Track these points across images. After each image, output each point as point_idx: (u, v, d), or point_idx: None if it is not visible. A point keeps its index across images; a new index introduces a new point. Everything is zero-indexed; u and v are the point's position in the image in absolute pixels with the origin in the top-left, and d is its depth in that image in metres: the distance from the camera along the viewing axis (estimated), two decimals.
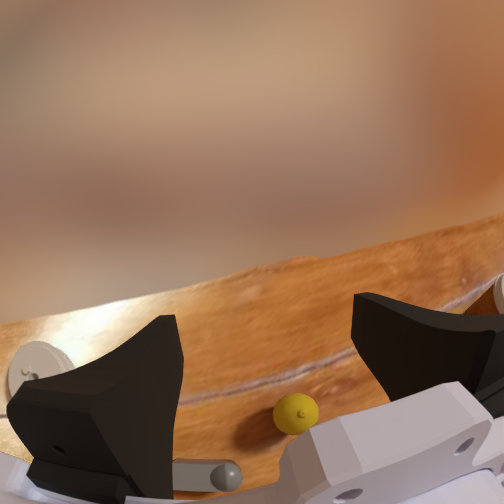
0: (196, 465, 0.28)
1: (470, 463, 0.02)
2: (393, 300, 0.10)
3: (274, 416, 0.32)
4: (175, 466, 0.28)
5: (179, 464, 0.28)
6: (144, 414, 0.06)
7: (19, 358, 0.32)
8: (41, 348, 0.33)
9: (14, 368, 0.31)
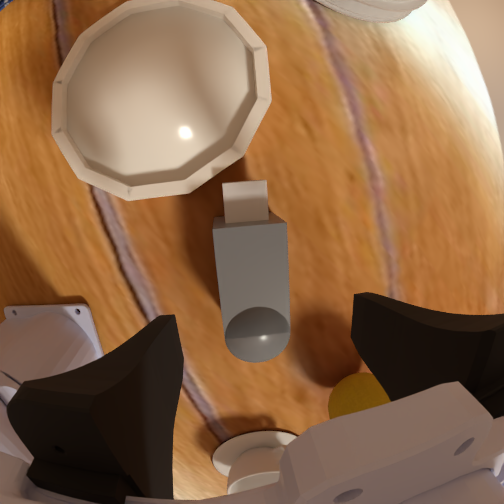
0: (285, 278, 0.16)
1: (470, 463, 0.02)
2: (393, 300, 0.10)
3: (370, 389, 0.19)
4: (278, 232, 0.16)
5: (284, 241, 0.16)
6: (144, 414, 0.06)
7: None
8: None
9: None
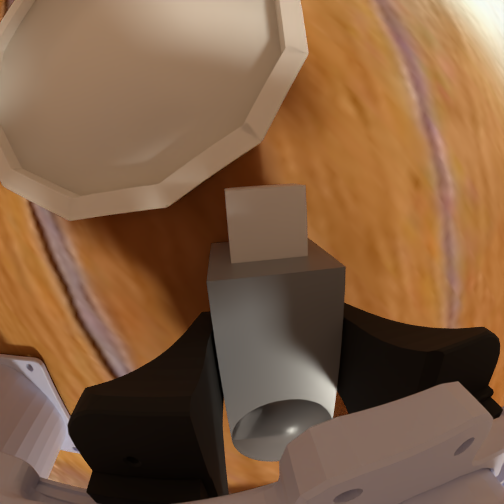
0: (334, 356, 0.09)
1: (470, 463, 0.02)
2: (352, 308, 0.09)
3: None
4: (329, 284, 0.08)
5: (339, 299, 0.08)
6: (211, 413, 0.06)
7: None
8: None
9: None
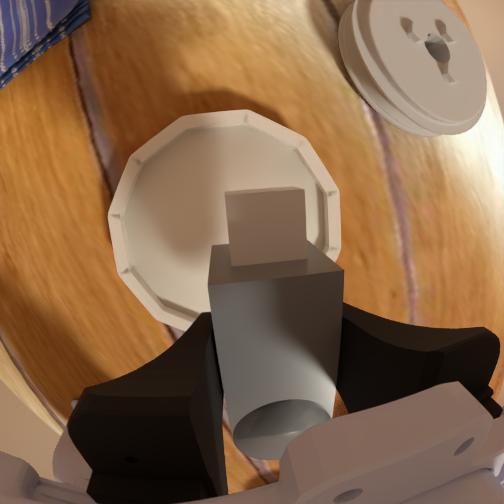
0: (333, 358, 0.09)
1: (470, 463, 0.02)
2: (352, 307, 0.09)
3: None
4: (328, 287, 0.08)
5: (337, 302, 0.08)
6: (211, 413, 0.06)
7: (453, 19, 0.13)
8: (483, 73, 0.14)
9: (434, 4, 0.12)
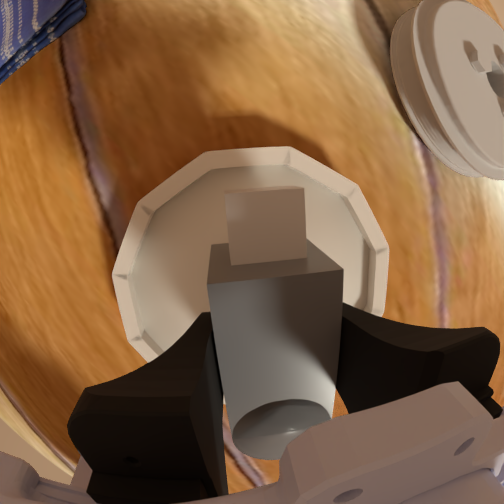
0: (333, 357, 0.09)
1: (470, 463, 0.02)
2: (352, 307, 0.09)
3: None
4: (328, 286, 0.08)
5: (337, 301, 0.08)
6: (211, 413, 0.06)
7: None
8: None
9: (491, 26, 0.10)
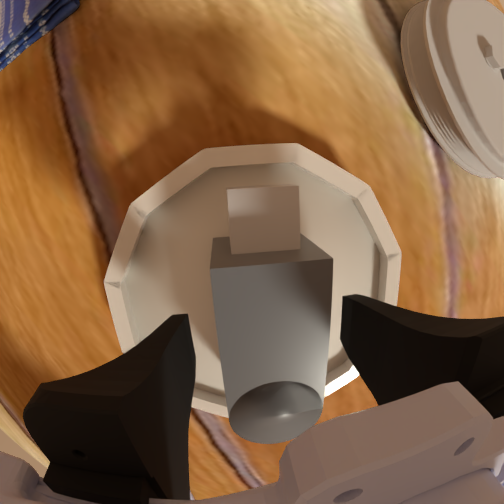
0: (324, 341, 0.10)
1: (470, 463, 0.02)
2: (381, 302, 0.10)
3: None
4: (318, 274, 0.09)
5: (327, 287, 0.09)
6: (164, 414, 0.06)
7: None
8: None
9: (503, 22, 0.08)
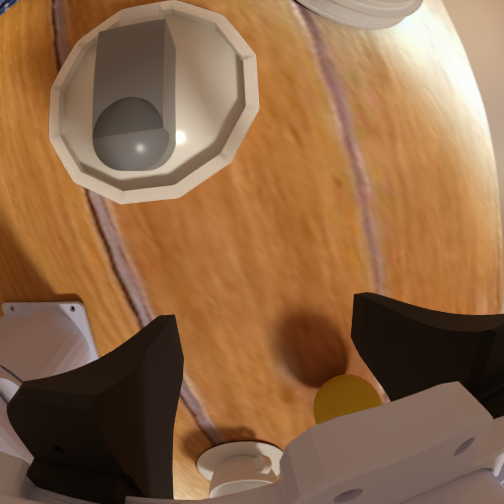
0: (159, 65, 0.12)
1: (470, 463, 0.02)
2: (393, 300, 0.10)
3: (354, 391, 0.20)
4: (156, 26, 0.12)
5: (161, 33, 0.12)
6: (144, 414, 0.06)
7: None
8: None
9: None
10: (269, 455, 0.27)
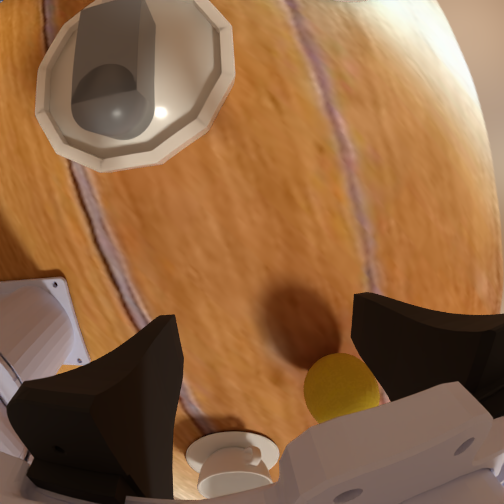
0: (135, 34, 0.12)
1: (470, 463, 0.02)
2: (393, 300, 0.10)
3: (346, 369, 0.19)
4: (133, 1, 0.11)
5: (138, 6, 0.11)
6: (144, 414, 0.06)
7: None
8: None
9: None
10: (260, 447, 0.26)
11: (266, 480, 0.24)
